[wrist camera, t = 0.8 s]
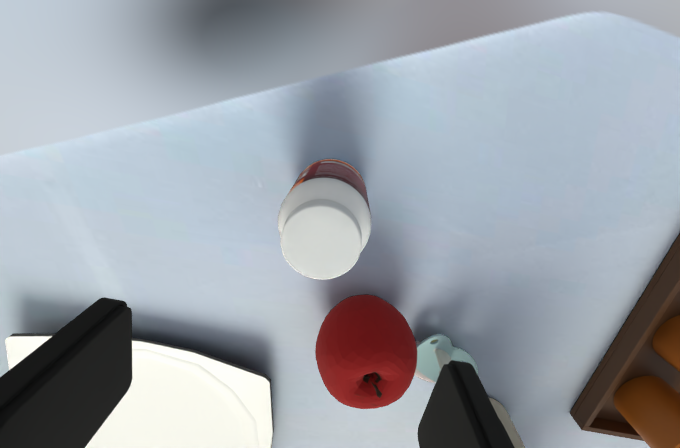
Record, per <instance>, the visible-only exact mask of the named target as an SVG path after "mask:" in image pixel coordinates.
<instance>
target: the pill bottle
mask: <svg viewBox="0 0 680 448" xmlns="http://www.w3.org/2000/svg"><path fill="white" fill-rule="evenodd" d="M278 229H279V233H280V237H281V249H282V252H283V255H284V257H285V259H286V261H287V262H288V264H289V265H290V266H291V267H292V268H293V269H294V270H296V271H297V272H298V273H300V274H302V275H304V276H306V277H309V278H312V279H320V280H325V279H332V278H336V277H338V276H341V275H343V274H344V273H346V272H348V271H349V270H350V269H351V268H352V267H353V266H354V265H355V263H356V262H357V260H358V258H359V255H360V252H361V251H362V250H363V249H364V247H365V246H366V244H367V242H368V239H369V236H370V232H371V214H370V209H369V203H368V198H367V192H366V187H365V184H364V181H363V179H362V177H361V175H360V174H359V172H358V171H357V170H356V169H355V168H354V167H353V166H351V165H350V164H348V163H346V162H344V161H341V160H337V159H323V160H319V161H316V162H314V163H312V164H311V165H309V166H308V167H307V168H306V169H305V170H304V171H303V172H302V173H301V174H300V176H299V177H298V179H297V181H296V182H295V184H294V185H293V187H292V188H291V190H290V192H289V193H288V195H287V196H286V198H285V199H284V201H283V203H282V205H281V208H280V211H279V215H278Z"/></svg>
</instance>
